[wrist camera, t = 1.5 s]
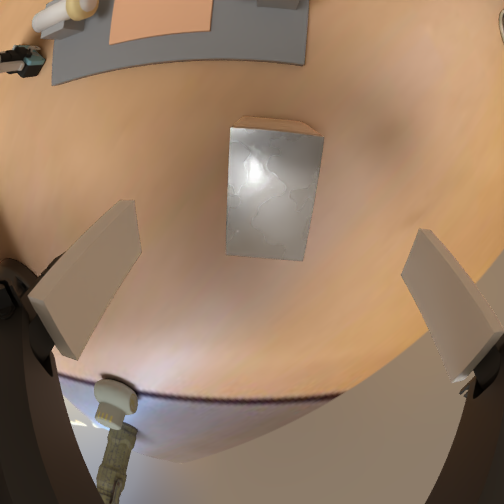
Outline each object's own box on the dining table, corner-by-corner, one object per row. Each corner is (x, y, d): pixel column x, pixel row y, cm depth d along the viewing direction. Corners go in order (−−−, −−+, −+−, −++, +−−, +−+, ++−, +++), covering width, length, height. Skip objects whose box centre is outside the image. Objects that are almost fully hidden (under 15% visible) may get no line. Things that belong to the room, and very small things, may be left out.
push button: (12, 64, 15) (-49, 77, 7) (32, 27, 13) (-30, 29, 5) (33, 87, 18) (-33, 104, 9) (56, 48, 15) (-14, 51, 7)
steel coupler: (238, 201, 25) (225, 254, 18) (243, 116, 21) (230, 127, 13) (291, 206, 25) (302, 261, 18) (302, 121, 21) (324, 137, 13)
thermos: (107, 421, 67) (84, 505, 38) (120, 418, 62) (96, 514, 33) (128, 432, 70) (109, 514, 41) (144, 430, 66) (124, 522, 36)
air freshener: (97, 368, 45) (81, 407, 37) (132, 379, 46) (118, 421, 37) (110, 391, 51) (98, 426, 43) (141, 401, 52) (131, 437, 43)
